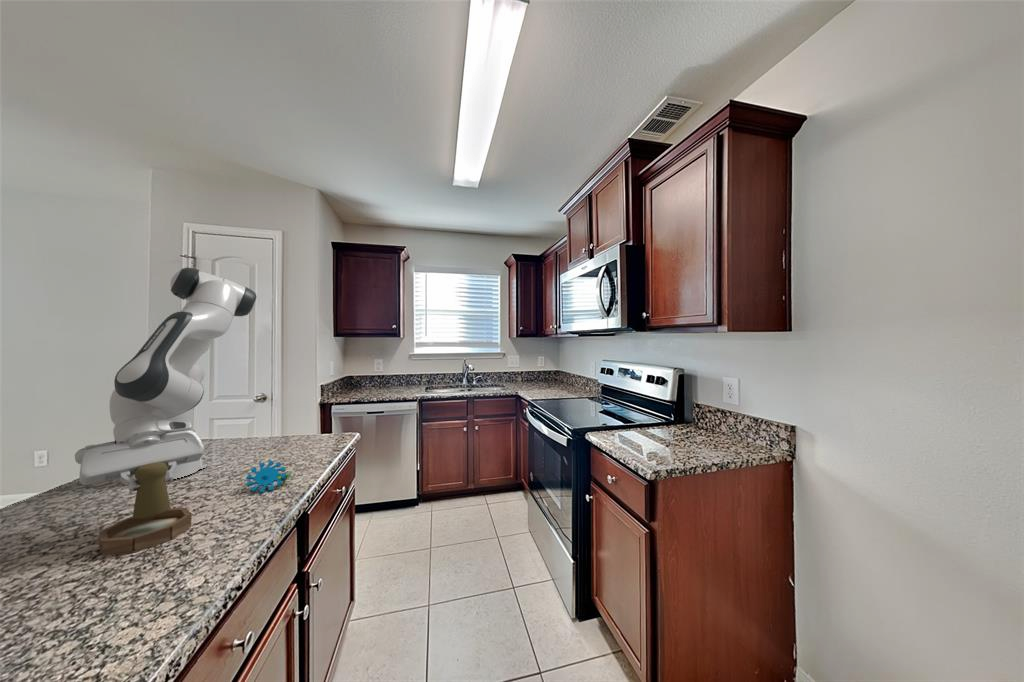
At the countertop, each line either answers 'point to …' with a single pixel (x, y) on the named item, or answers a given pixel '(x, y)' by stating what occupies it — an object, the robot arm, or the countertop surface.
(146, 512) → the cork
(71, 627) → the countertop surface
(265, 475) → the gear
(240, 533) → the countertop surface
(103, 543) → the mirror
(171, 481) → the robot arm
